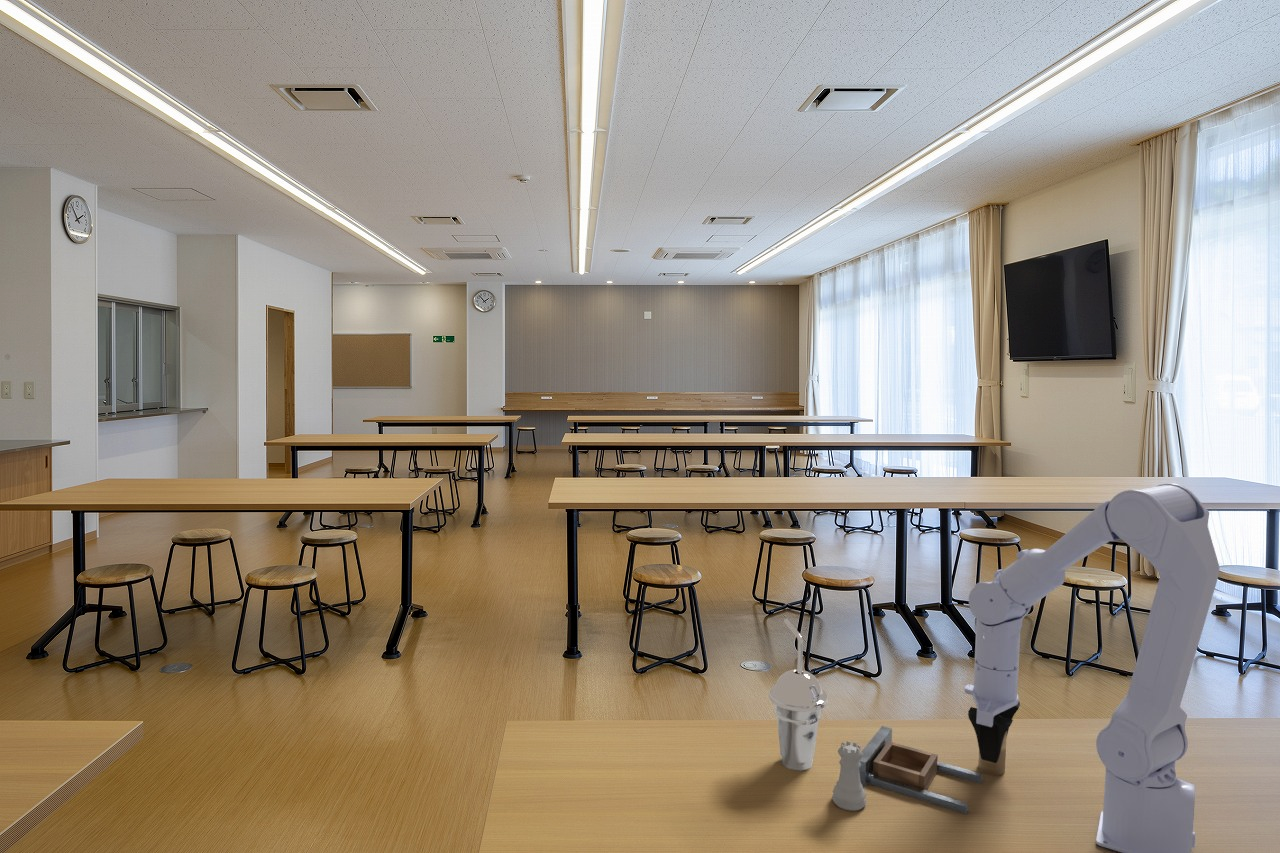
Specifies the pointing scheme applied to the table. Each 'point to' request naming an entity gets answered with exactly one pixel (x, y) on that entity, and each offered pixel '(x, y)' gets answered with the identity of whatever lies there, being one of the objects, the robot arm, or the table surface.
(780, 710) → the cup with straw
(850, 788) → the rook chess piece
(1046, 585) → the robot arm
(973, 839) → the table surface
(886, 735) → the rail
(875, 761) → the walnut socket block
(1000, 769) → the oak dowel
